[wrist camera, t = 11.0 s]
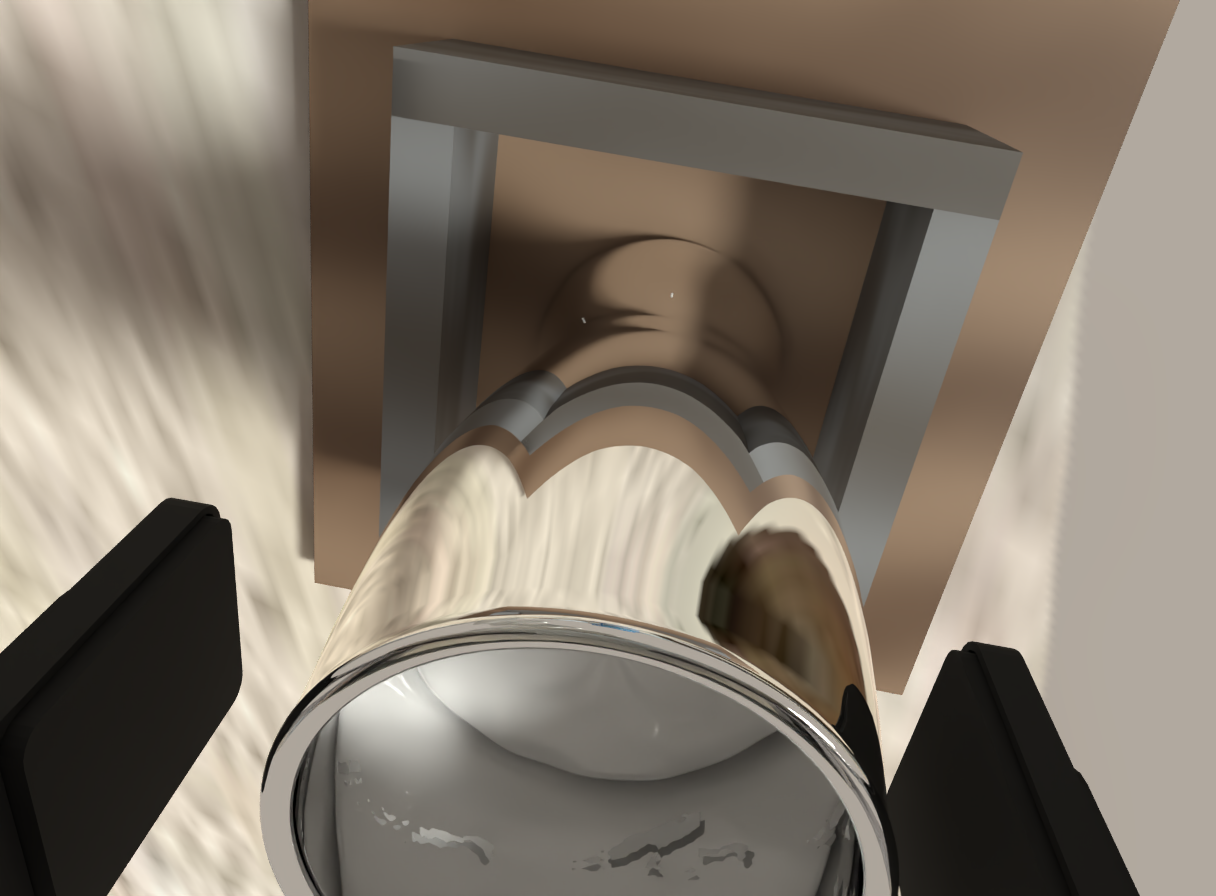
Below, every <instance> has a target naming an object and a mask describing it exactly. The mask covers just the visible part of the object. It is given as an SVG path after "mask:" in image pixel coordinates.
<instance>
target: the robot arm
mask: <svg viewBox="0 0 1216 896" xmlns="http://www.w3.org/2000/svg"><path fill="white" fill-rule="evenodd" d="M241 682H242V659H241V646H240V632H239V619H238V606H237V593H236V580H235V567H234V554H233V541H232V529H231V524H230V522H229V520H227V519H223V518H220V514H219V511H218V509H217V508H216V507H215V506H213V505H209V504H204V503H198V502H192V501H187V500H181V499H176V498H168V499H165V500H164V501H163V502H161V503H160V504H159V505H158V506H157V507H156V508H155V509H154V510H153V511H152V512H151V513H150V514H148V515H147V516H146V517H145V518H144V519H143V520H142V521H141V522H140V523H139V524H138V525H137V526H136V527H135V528H134V529H133V530H132V531H131V532H130V533H129V534H128V535H127V536H125V537H124V538H123V539H122V540H121V541H120V542H119V543H118V544H117V545H116V546H115V547H114V548H113V549H112V550H111V551H110V552H109V553H108V554H107V555H106V556H105V557H103V558H102V559H101V560H100V561H99V562H98V563H97V564H96V565H95V566H94V567H93V568H92V569H91V570H90V571H89V572H88V573H87V574H86V575H85V576H84V577H83V578H81V579H80V580H79V581H78V582H77V583H76V584H75V585H74V586H73V587H72V588H71V589H70V590H69V591H67V592H66V593H64V594H63V595H62V596H60V597H59V598H58V599H57V600H56V601H55V602H54V603H53V604H52V605H51V606H50V607H49V608H48V609H46V610H45V611H44V612H43V613H42V614H41V615H40V616H39V617H38V618H37V619H36V620H35V621H34V622H33V623H32V624H31V625H30V626H29V627H28V628H27V629H25V630H24V631H23V632H22V633H21V634H20V635H19V636H18V637H17V638H16V639H15V640H14V641H13V642H12V643H11V644H10V645H9V646H8V647H7V648H6V649H4V650H3V651H2V652H1V653H0V896H107V895H108V893H109V892H110V890H111V889H112V887H113V886H114V884H115V882H116V881H117V879H118V878H119V876H120V875H121V873H122V872H123V870H124V869H125V867H126V866H127V864H128V863H129V861H130V860H131V858H132V857H133V855H134V854H135V852H136V851H137V849H138V847H139V846H140V844H141V843H142V841H143V840H144V838H145V837H146V835H147V834H148V832H149V831H150V829H151V828H152V826H153V825H154V823H155V822H156V820H157V819H158V817H159V816H160V814H161V812H162V811H163V809H164V808H165V806H166V805H167V803H168V802H169V800H170V799H171V797H172V796H173V794H174V793H175V791H176V790H177V788H178V787H179V785H180V784H181V782H182V781H183V779H184V777H185V776H186V774H187V773H188V771H189V770H190V768H191V767H192V765H193V764H194V762H195V761H196V759H197V758H198V756H199V755H200V753H201V752H202V750H203V749H204V747H205V746H206V744H207V742H208V741H209V739H210V738H211V736H212V735H213V733H214V732H215V730H216V729H217V727H218V726H219V724H220V723H221V721H222V720H223V718H224V717H225V715H226V714H227V712H228V711H229V709H230V707H231V706H232V704H233V703H234V701H235V699H236V697H237V695H238V693H239V690H240V686H241ZM887 803H888V811H889V819H890V822H891V825H892V829H893V832H894V836H895V840H896V845H897V850H898V858H899V888H900V893H901V896H1140V895H1139V893H1138V891H1137V889H1136V887H1135V885H1134V882H1133V880H1132V878H1131V876H1130V874H1129V872H1128V870H1127V868H1126V866H1125V863H1124V861H1123V859H1122V857H1121V855H1120V853H1119V850H1118V848H1117V846H1116V844H1115V842H1114V840H1113V838H1112V836H1111V833H1110V831H1109V829H1108V827H1107V825H1106V823H1105V821H1104V818H1103V817H1102V814H1101V812H1100V810H1099V808H1098V806H1097V804H1096V801H1095V799H1094V797H1093V795H1092V793H1091V791H1090V789H1089V787H1088V784H1087V783H1086V781H1085V780H1084V778H1083V777H1082V775H1081V773H1080V772H1078V771H1077V770H1076V769H1074V767H1073V765H1072V763H1071V760H1070V758H1069V756H1068V754H1067V752H1066V750H1065V747H1064V745H1063V743H1062V741H1061V739H1060V737H1059V735H1058V732H1057V730H1056V728H1055V726H1054V724H1053V721H1052V719H1051V717H1050V715H1049V713H1048V711H1047V708H1046V706H1045V704H1044V702H1043V700H1042V698H1041V695H1040V693H1039V691H1038V689H1037V687H1036V685H1035V682H1034V680H1033V678H1032V676H1031V674H1030V672H1029V669H1028V667H1027V665H1026V663H1025V661H1024V659H1023V657H1022V655H1021V654H1020V652H1019V651H1017V650H1015V649H1012V648H1007V647H1001V646H995V645H990V644H984V643H979V642H973V641H972V642H968V643H967V644H966V645H965V646H964V647H963V649H962V650H961V651H958V650H951V651H950V652H949V653H948V655H947V657H946V659H945V661H944V663H943V666H942V668H941V670H940V672H939V675H938V677H937V679H936V682H935V684H934V686H933V689H932V691H931V693H930V695H929V698H928V700H927V702H926V705H925V707H924V709H923V712H922V714H921V716H920V718H919V721H918V723H917V725H916V728H915V730H914V732H913V735H912V737H911V739H910V742H909V744H908V746H907V748H906V751H905V753H904V755H903V758H902V760H901V762H900V765H899V767H898V769H897V771H896V774H895V776H894V778H893V781H892V783H891V785H890V788H889V790H888V793H887Z"/></svg>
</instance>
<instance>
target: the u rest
mask: <svg viewBox="0 0 1216 896" xmlns="http://www.w3.org/2000/svg"><path fill="white" fill-rule="evenodd" d="M1179 1H1180V0H308V32H309V122H310V212H311V302H312V393H313V483H314V573H315V583H320V584H325V585H330V586H335V587H341V588H346V589H351V590H352V588H353V586H354V584H355V582H356V580H357V578H358V576H359V574H360V572H361V570H362V568H363V566H364V564H365V562H366V560H367V558H368V556H369V555H370V553H371V551H372V549H373V548H374V546H375V544H376V542H377V541H378V539H379V537H380V536H381V534H382V532H383V530H384V529H385V527H386V525H387V523H388V522H389V520H390V518H391V517H392V515H393V513H394V511H395V510H396V508H397V506H398V505H399V503H400V501H401V500H402V498H403V497H404V495H405V494H406V492H407V491H408V489H409V488H410V487H411V485H412V484H413V482H414V481H415V480H416V478H417V477H418V476H419V474H420V473H421V471H422V470H423V469H424V467H425V466H426V464H427V463H428V462H429V460H430V459H431V458H432V456H433V455H434V453H435V452H436V451H437V449H438V448H439V447H440V445H441V444H442V443H443V442H444V440H445V439H446V438H447V437H448V436H449V435H450V434H451V433H452V432H453V431H454V430H455V429H456V428H457V427H458V426H459V425H460V424H461V423H462V422H463V421H464V420H465V419H466V418H467V417H468V416H469V415H470V414H471V413H472V412H473V411H474V410H475V409H476V408H477V407H478V406H479V405H480V404H481V403H482V402H483V401H484V400H485V399H486V398H487V397H488V396H489V395H490V394H491V393H493V392H494V391H495V390H496V389H497V388H498V387H500V386H501V385H502V384H503V383H505V382H506V381H507V380H509V379H510V378H511V377H512V376H514V375H515V374H516V373H517V372H519V371H520V370H521V369H522V368H524V367H525V366H526V365H528V364H529V363H530V362H532V361H533V360H534V359H536V358H537V357H538V347H539V339H540V334H541V329H542V325H543V322H544V319H545V317H546V314H547V311H548V309H549V307H550V305H551V303H552V301H553V299H554V298H555V296H556V294H557V293H558V291H559V290H560V288H561V287H562V286H563V284H564V283H565V282H566V281H567V280H568V278H569V277H570V276H571V275H572V274H573V273H574V272H575V271H576V270H577V269H578V268H579V267H580V266H582V265H583V264H584V263H585V262H587V261H588V260H590V259H591V258H593V257H594V256H596V255H598V254H600V253H602V252H604V251H606V250H608V249H611V248H613V247H616V246H618V245H621V244H625V243H629V242H633V241H638V240H645V239H675V240H682V241H687V242H691V243H695V244H698V245H701V246H704V247H706V248H709V249H711V250H713V251H715V252H717V253H719V254H721V255H723V256H725V257H726V258H728V259H729V260H731V261H732V262H734V263H735V264H736V265H738V266H739V267H740V268H741V269H743V270H744V271H745V272H746V273H747V274H748V275H749V276H750V277H751V278H752V279H753V280H754V281H755V283H756V284H757V285H758V286H759V287H760V289H761V290H762V292H763V293H764V295H765V296H766V298H767V300H768V301H769V303H770V305H771V307H772V309H773V311H774V314H775V316H776V319H777V322H778V325H779V329H780V334H781V340H782V351H783V365H782V374H781V380H780V384H779V389H778V392H777V396H776V399H777V400H778V402H779V403H780V405H781V406H782V408H783V409H784V411H785V412H786V414H787V415H788V417H789V419H790V420H791V422H792V423H793V425H794V427H795V428H796V430H797V431H798V433H799V434H800V436H801V438H802V439H803V441H804V443H805V444H806V446H807V448H808V450H809V452H810V453H811V455H812V457H813V459H814V461H815V464H816V466H817V468H818V470H819V472H820V474H821V476H822V478H823V480H824V482H825V484H826V486H827V488H828V490H829V492H830V494H831V496H832V499H833V501H834V503H835V506H836V508H837V511H838V513H839V517H840V520H841V523H842V526H843V530H844V533H845V536H846V540H847V543H848V547H849V550H850V553H851V557H852V560H853V564H854V567H855V570H856V574H857V578H858V582H859V587H860V592H861V597H862V603H863V608H864V614H865V619H866V624H867V630H868V635H869V641H870V646H871V652H872V659H873V668H874V676H875V685H876V690H879V691H884V692H889V693H894V694H899V695H902V694H903V691H904V689H905V686H906V684H907V681H908V679H909V676H910V674H911V671H912V669H913V666H914V664H915V661H916V659H917V656H918V654H919V651H920V649H921V646H922V644H923V641H924V639H925V636H926V634H927V631H928V629H929V626H930V624H931V621H932V619H933V616H934V614H935V611H936V609H937V606H938V604H939V601H940V599H941V596H942V594H943V591H944V589H945V586H946V584H947V581H948V579H949V576H950V574H951V571H952V569H953V566H954V564H955V561H956V559H957V556H958V554H959V551H960V549H961V546H962V544H963V541H964V539H965V536H966V534H967V531H968V529H969V526H970V524H971V521H972V519H973V516H974V514H975V511H976V509H977V506H978V504H979V501H980V499H981V496H982V494H983V491H984V489H985V486H986V484H987V481H988V479H989V476H990V474H991V471H992V469H993V466H994V464H995V461H996V459H997V456H998V454H999V451H1000V449H1001V446H1002V444H1003V441H1004V439H1005V436H1006V434H1007V431H1008V429H1009V426H1010V424H1011V421H1012V419H1013V416H1014V414H1015V411H1016V409H1017V406H1018V404H1019V401H1020V399H1021V396H1022V394H1023V391H1024V389H1025V386H1026V384H1027V381H1028V379H1029V376H1030V374H1031V371H1032V369H1033V366H1034V364H1035V361H1036V359H1037V356H1038V354H1039V351H1040V349H1041V346H1042V344H1043V341H1044V339H1045V336H1046V334H1047V331H1048V329H1049V326H1050V324H1051V321H1052V319H1053V316H1054V314H1055V311H1056V309H1057V306H1058V304H1059V301H1060V299H1061V296H1062V294H1063V291H1064V289H1065V286H1066V284H1067V281H1068V279H1069V276H1070V274H1071V271H1072V269H1073V266H1074V264H1075V261H1076V259H1077V256H1078V254H1079V251H1080V249H1081V246H1082V244H1083V241H1084V239H1085V236H1086V234H1087V231H1088V229H1089V226H1090V224H1091V221H1092V219H1093V216H1094V214H1095V211H1096V209H1097V206H1098V204H1099V201H1100V199H1101V196H1102V194H1103V191H1104V189H1105V186H1106V184H1107V181H1108V179H1109V176H1110V174H1111V171H1112V169H1113V166H1114V164H1115V161H1116V158H1117V156H1118V153H1119V151H1120V149H1121V146H1122V143H1123V141H1124V139H1125V136H1126V134H1127V131H1128V129H1129V126H1130V123H1131V121H1132V119H1133V116H1134V113H1135V111H1136V109H1137V106H1138V103H1139V101H1140V98H1141V96H1142V93H1143V91H1144V89H1145V86H1146V84H1147V81H1148V79H1149V76H1150V74H1151V71H1152V69H1153V66H1154V63H1155V61H1156V58H1157V56H1158V53H1159V51H1160V48H1161V46H1162V44H1163V41H1164V38H1165V36H1166V34H1167V31H1168V28H1169V26H1170V23H1171V21H1172V18H1173V16H1174V13H1175V11H1176V9H1177V6H1178V4H1179Z"/></svg>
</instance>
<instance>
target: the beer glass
mask: <svg viewBox="0 0 1216 896" xmlns="http://www.w3.org/2000/svg"><path fill="white" fill-rule="evenodd" d="M782 365H783V351H782V340H781V334H780V329H779V325H778V322H777V319H776V316H775V314H774V311H773V309H772V307H771V305H770V303H769V301H768V300H767V298H766V296H765V295H764V293H763V292H762V290H761V289H760V287H759V286H758V285H757V284H756V283H755V281H754V280H753V279H752V278H751V277H750V276H749V275H748V274H747V273H746V272H745V271H744V270H743V269H741V268H740V267H739V266H738V265H736V264H735V263H734V262H732V261H731V260H729V259H728V258H726V257H725V256H723V255H721V254H719V253H717V252H715V251H713V250H711V249H709V248H706V247H704V246H701V245H698V244H695V243H691V242H687V241H682V240H675V239H645V240H638V241H633V242H629V243H625V244H621V245H618V246H616V247H613V248H611V249H608V250H606V251H604V252H602V253H600V254H598V255H596V256H594V257H593V258H591V259H590V260H588V261H587V262H585V263H584V264H583V265H582V266H580V267H579V268H578V269H577V270H576V271H575V272H574V273H573V274H572V275H571V276H570V277H569V278H568V280H567V281H566V282H565V283H564V284H563V286H562V287H561V288H560V290H559V291H558V293H557V294H556V296H555V298H554V299H553V301H552V303H551V305H550V307H549V309H548V311H547V314H546V317H545V319H544V322H543V325H542V329H541V334H540V339H539V347H538V357H537V358H536V359H534V360H533V361H532V362H530V363H529V364H528V365H526V366H525V367H524V368H522V369H521V370H520V371H519V372H517V373H516V374H515V375H514V376H512V377H511V378H510V379H509V380H507V381H506V382H505V383H503V384H502V385H501V386H500V387H498V388H497V389H496V390H495V391H494V392H493V393H491V394H490V395H489V396H488V397H487V398H486V399H485V400H484V401H483V402H482V403H481V404H480V405H479V406H478V407H477V408H476V409H475V410H474V411H473V412H472V413H471V414H470V415H469V416H468V417H467V418H466V419H465V420H464V421H463V422H462V423H461V424H460V425H459V426H458V427H457V428H456V429H455V430H454V431H453V432H452V433H451V434H450V435H449V436H448V437H447V438H446V439H445V440H444V442H443V443H442V444H441V445H440V447H439V448H438V449H437V451H436V452H435V453H434V455H433V456H432V458H431V459H430V460H429V462H428V463H427V464H426V466H425V467H424V469H423V470H422V471H421V473H420V474H419V476H418V477H417V478H416V480H415V481H414V482H413V484H412V485H411V487H410V488H409V489H408V491H407V492H406V494H405V495H404V497H403V498H402V500H401V501H400V503H399V505H398V506H397V508H396V510H395V511H394V513H393V515H392V517H391V518H390V520H389V522H388V523H387V525H386V527H385V529H384V530H383V532H382V534H381V536H380V537H379V539H378V541H377V542H376V544H375V546H374V548H373V549H372V551H371V553H370V555H369V556H368V558H367V560H366V562H365V564H364V566H363V568H362V570H361V572H360V574H359V576H358V578H357V580H356V582H355V584H354V586H353V588H352V590H351V592H350V594H349V596H348V598H347V600H346V602H345V604H344V606H343V608H342V610H341V612H340V614H339V616H338V618H337V620H336V622H335V624H334V626H333V629H332V631H331V633H330V635H329V637H328V640H327V642H326V644H325V646H324V648H323V650H322V653H321V655H320V657H319V659H318V661H317V664H316V666H315V668H314V670H313V672H312V675H311V677H310V679H309V681H308V683H307V685H306V687H305V689H304V691H303V693H302V695H301V697H300V699H299V701H298V703H297V705H296V707H295V708H294V709H293V710H292V712H291V713H290V715H289V716H288V717H287V719H286V720H285V722H284V724H283V725H282V727H281V728H280V730H279V732H278V734H277V736H276V738H275V740H274V742H273V744H272V747H271V749H270V752H269V755H268V758H267V761H266V765H265V768H264V772H263V777H262V782H261V790H260V822H261V829H262V836H263V841H264V845H265V849H266V853H267V856H268V859H269V862H270V865H271V867H272V870H273V872H274V875H275V877H276V879H277V882H278V884H279V886H280V888H281V890H282V892H283V893H284V895H285V896H898V891H899V858H898V850H897V845H896V840H895V836H894V832H893V829H892V825H891V822H890V819H889V811H888V803H887V794H886V785H885V774H884V762H883V750H882V739H881V727H880V718H879V710H878V701H877V693H876V685H875V676H874V668H873V659H872V652H871V646H870V641H869V635H868V630H867V624H866V619H865V614H864V608H863V603H862V597H861V592H860V587H859V582H858V578H857V574H856V570H855V567H854V564H853V560H852V557H851V553H850V550H849V547H848V543H847V540H846V536H845V533H844V530H843V526H842V523H841V520H840V517H839V513H838V511H837V508H836V506H835V503H834V501H833V499H832V496H831V494H830V492H829V490H828V488H827V486H826V484H825V482H824V480H823V478H822V476H821V474H820V472H819V470H818V468H817V466H816V464H815V461H814V459H813V457H812V455H811V453H810V452H809V450H808V448H807V446H806V444H805V443H804V441H803V439H802V438H801V436H800V434H799V433H798V431H797V430H796V428H795V427H794V425H793V423H792V422H791V420H790V419H789V417H788V415H787V414H786V412H785V411H784V409H783V408H782V406H781V405H780V403H779V402H778V400H777V399H776V396H777V392H778V389H779V384H780V380H781V374H782Z"/></svg>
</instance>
